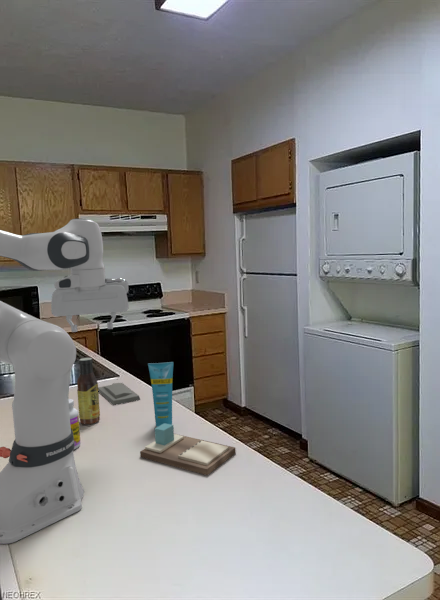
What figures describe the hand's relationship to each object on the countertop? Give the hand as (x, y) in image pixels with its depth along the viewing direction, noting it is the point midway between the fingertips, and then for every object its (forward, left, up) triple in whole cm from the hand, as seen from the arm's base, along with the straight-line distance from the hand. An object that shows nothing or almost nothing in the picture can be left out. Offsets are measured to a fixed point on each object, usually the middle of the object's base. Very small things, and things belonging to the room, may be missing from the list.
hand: (92, 330), depth 127 cm
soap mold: (+31, +24, -32) cm, 51 cm away
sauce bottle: (+8, +13, -31) cm, 35 cm away
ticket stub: (+3, -21, -30) cm, 36 cm away
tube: (+16, -10, -31) cm, 36 cm away
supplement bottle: (-8, +4, -31) cm, 33 cm away
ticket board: (+3, -28, -31) cm, 42 cm away
